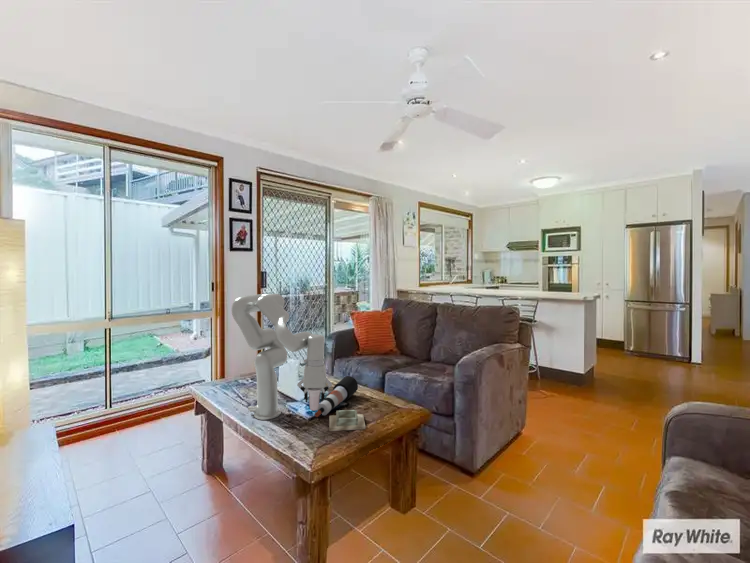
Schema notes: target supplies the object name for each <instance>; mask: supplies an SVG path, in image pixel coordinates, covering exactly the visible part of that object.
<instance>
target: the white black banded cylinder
mask: <svg viewBox="0 0 750 563" xmlns="http://www.w3.org/2000/svg"><path fill="white" fill-rule="evenodd" d="M358 389H359V385H358V382H357V380H356V379H355V377H353V376H348V375H347V376H345V377H343V378H342V379H341V380H339V381H338V382H337V383H336V384H335V385H334V386H333V388H332V391H331V392H330V393H329V394H328V395H327V396H326V397H324V399H323V402H322V401H320V402H319V407H318V410H316V412H315V413H314V417H315V418H318V417H320V416H327V415H328V414H329V413H330V412H331V411H332V410H333V409H335V408H336V407H337V406H339V405H340V403H342V402H343V401H344V402H347V401H348V400H349V399H350V398H351V397H352V396H353V395H354V394H355V393H357V391H358ZM321 414H322V415H321Z"/></svg>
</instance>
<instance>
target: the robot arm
mask: <svg viewBox="0 0 750 563" xmlns="http://www.w3.org/2000/svg"><path fill="white" fill-rule="evenodd" d="M231 304H232V305H231V314H232V317H233V319H234V321H235V322H236V324H237V326H238V328H239V329H240V331H241V333H242V335H243V337H244V339H245V340H246V343H247V345H248V347H249V349H251V350H252V351H260V350H263V351H260V352H259V353H258V354H256V356H254V361H253V363H254V364H253V365H254V368H255V374H256V403H257V404H256V405H254V406H253V405H252V406H248V407H247V410H248V411H249V413H253V417H254V418H255V419H257V420H262V421H266V420H267V421H268V420H272V419H275V418H278V417H279V416H280V415H281V414H282V410H281V409H280V408H279V407H278V404H279V403H278V398H279V397H278V375H277V372H276V371H275V368H278V367H279V366H282V365H284V364H285V363H286V362H287V361H288V351H289V352H292V353H296V352H299V351H301V350H305V349H306V353H307V354H306V359H303V363H305V366H304V370H303V378H302V379H301V380H300V381H299V382H297V383H296V384H297V387H298V389H300V390H301V392H303V395H304V397H303V398H304V400H305V403H307V402H308V401H309V394H308V388H321V390H322V391H321V394H320V402H323V400H324V399H325V396H326V395H325V393H326V392H327V391H328V390H329V388H331V387H332V386H333V382H331V380H329V378H327V368H326V364H325V362H324V361H325V336H324V335H322V334H315V333H311V332H308V331H302V332H298V333H295V334H294V333H293V332H292V331H291V330H290V329H289V328H288V327H287V325H286V323H287V322H288V321H289V318H290V314H289V313H288V312H287V310H286V309H285V308H284V307H285V304H286V302H285V299H284V298H283V295H281V294H279V293H263V294H262V293H260V294H259V293H258V294H251V295H244V296H239V297H237V298H236V299H235V300H234V301H233V302H232V303H231ZM255 312H261V314H263V316H264V317H265V318H267V319H268V321H269V322H270V323H271V324H272V326H274V329H273V328H271V327H267V328H262V327H261V326H260V324H259V322H258V320H257V319H256V318H254V316H252V315H251V314H250V313H255ZM264 349H265V350H264ZM287 350H288V351H287Z"/></svg>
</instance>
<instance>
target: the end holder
mask: <svg viewBox="0 0 750 563" xmlns="http://www.w3.org/2000/svg"><path fill="white" fill-rule="evenodd" d="M335 414H336V415H334V414H333V415H329V420H328V422H329V427H328V428H329V430H328V431H329V432H334V431H354V430H356V431H357V430H366V423H365V418H364V413H358V411H357V409H342V410H340V409H339V410H336V412H335Z"/></svg>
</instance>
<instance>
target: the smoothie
mask: <svg viewBox="0 0 750 563" xmlns="http://www.w3.org/2000/svg"><path fill="white" fill-rule="evenodd" d="M307 391H308V402H309V404H308V405H309V409H310V411H318V407H319V404H320V401H321V392H322V390H321V388H308V390H307Z"/></svg>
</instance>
